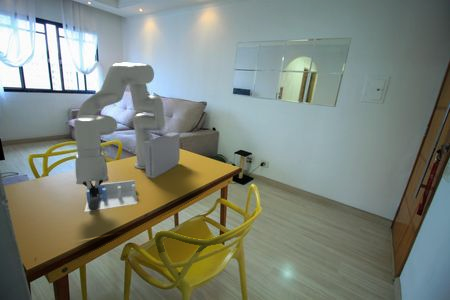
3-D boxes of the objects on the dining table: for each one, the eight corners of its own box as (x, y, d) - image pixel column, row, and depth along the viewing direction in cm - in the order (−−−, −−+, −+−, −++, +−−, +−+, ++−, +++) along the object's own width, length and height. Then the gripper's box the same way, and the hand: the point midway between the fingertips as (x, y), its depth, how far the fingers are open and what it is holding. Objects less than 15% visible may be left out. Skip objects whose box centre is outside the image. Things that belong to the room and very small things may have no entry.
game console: (144, 177, 117) (142, 141, 111) (171, 161, 142) (171, 132, 136) (153, 179, 115) (152, 143, 109) (179, 163, 140) (179, 133, 134)
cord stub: (94, 198, 93) (89, 193, 91) (101, 194, 94) (97, 189, 92) (91, 211, 84) (86, 206, 83) (99, 207, 85) (95, 201, 84)
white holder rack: (89, 193, 97) (88, 182, 96) (135, 187, 105) (134, 177, 104) (84, 212, 83) (82, 200, 82) (137, 204, 91) (136, 192, 90)
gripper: (112, 147, 86) (116, 189, 92) (67, 149, 80) (73, 194, 85) (112, 153, 80) (115, 197, 85) (62, 156, 74) (70, 203, 79)
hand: (94, 195), depth 85 cm, fingers closed
